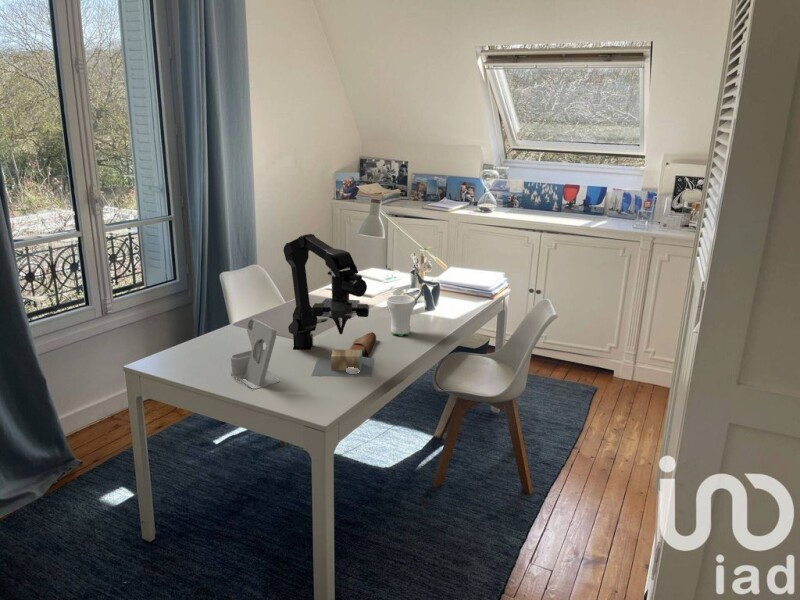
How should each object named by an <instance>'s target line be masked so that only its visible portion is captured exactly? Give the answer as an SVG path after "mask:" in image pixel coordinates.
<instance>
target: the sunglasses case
mask: <svg viewBox="0 0 800 600" xmlns="http://www.w3.org/2000/svg"><path fill="white" fill-rule="evenodd" d="M376 340H377V335H376V334H375V332H373V331H372V332H371V331H370V332H369V333H366V334H364V335H363V336H361V337H358V338H355V340H354V341H353V343H352V344H351V346H350V348H349V349H348V350H362V358H369V356H370V353H371V351H372V349H373V346H374V344H375V342H376Z"/></svg>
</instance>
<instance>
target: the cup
mask: <svg viewBox="0 0 800 600" xmlns="http://www.w3.org/2000/svg"><path fill="white" fill-rule="evenodd" d="M385 300H386V302H385V303H386V306H387V308H388V310H389V314H390V315H389V316H390V321H391V322H390V323H391V326H390V332H391V334H392V336H396V335H398V336H399V337H400V336H401V337H403V336H404V335H405V336H409V335H410V332H411V325H410V324H411V316H412V312H413V309H414V307H416V299H415V297H413V296H410V295H405V294H404V295H403V294H401V295H399V294H397V295H392V296H391V295H390V296H388V297H387V298H386V299H385Z"/></svg>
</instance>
